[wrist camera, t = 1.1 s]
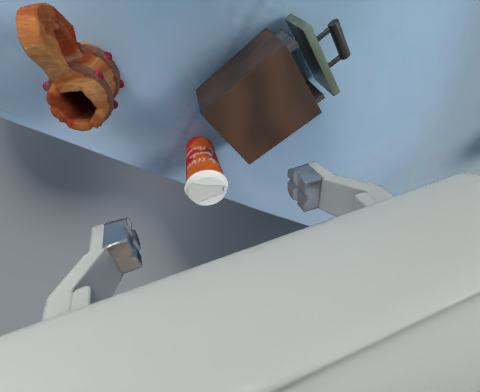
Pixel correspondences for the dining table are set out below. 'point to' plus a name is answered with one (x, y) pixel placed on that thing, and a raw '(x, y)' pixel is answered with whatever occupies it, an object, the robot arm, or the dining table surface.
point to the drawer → (315, 52)
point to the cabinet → (257, 97)
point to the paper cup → (203, 173)
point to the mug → (69, 68)
